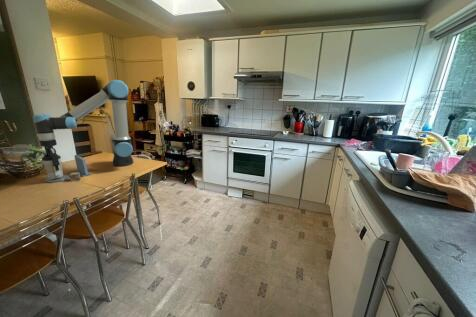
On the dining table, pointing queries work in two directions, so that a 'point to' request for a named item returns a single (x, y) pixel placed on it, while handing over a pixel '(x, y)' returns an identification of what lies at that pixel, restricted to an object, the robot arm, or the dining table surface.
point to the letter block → (75, 176)
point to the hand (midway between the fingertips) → (56, 173)
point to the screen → (81, 166)
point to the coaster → (57, 179)
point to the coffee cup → (49, 167)
